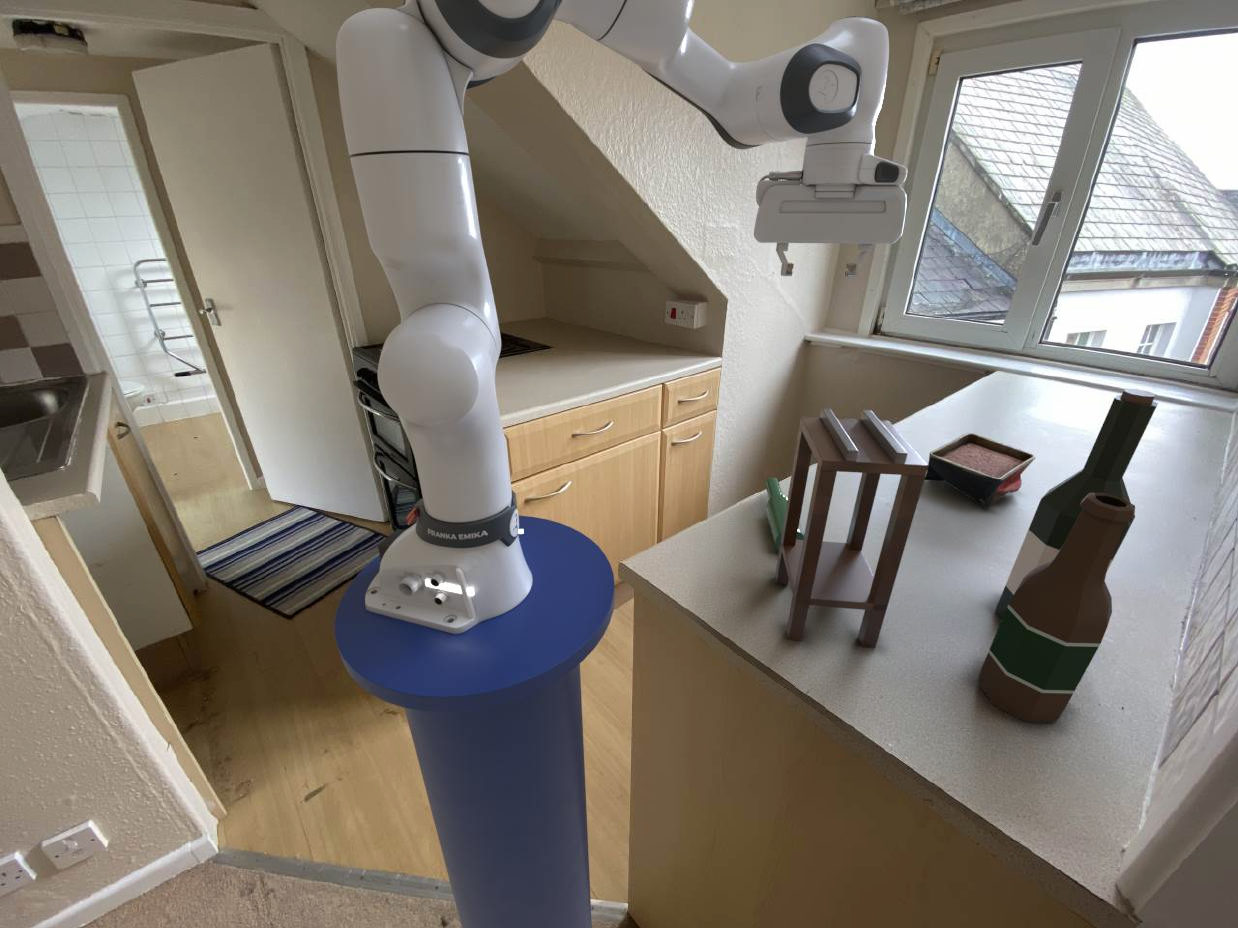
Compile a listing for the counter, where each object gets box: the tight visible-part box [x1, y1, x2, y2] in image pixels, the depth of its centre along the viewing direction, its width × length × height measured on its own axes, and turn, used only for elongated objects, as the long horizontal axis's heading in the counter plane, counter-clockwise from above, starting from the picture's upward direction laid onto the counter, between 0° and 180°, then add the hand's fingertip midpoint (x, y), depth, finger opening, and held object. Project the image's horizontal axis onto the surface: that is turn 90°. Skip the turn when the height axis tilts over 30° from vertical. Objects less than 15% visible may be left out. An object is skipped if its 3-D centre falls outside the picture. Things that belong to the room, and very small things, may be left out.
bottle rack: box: [774, 407, 928, 649], centre depth 62 cm, size 10×12×25 cm
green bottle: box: [764, 477, 805, 552], centre depth 86 cm, size 18×4×4 cm
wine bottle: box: [994, 388, 1159, 620], centre depth 59 cm, size 8×8×30 cm
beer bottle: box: [977, 493, 1136, 724], centre depth 51 cm, size 8×8×24 cm
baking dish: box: [924, 432, 1036, 511], centre depth 95 cm, size 14×18×10 cm
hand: (818, 276), depth 79 cm, fingers open, 8 cm apart
